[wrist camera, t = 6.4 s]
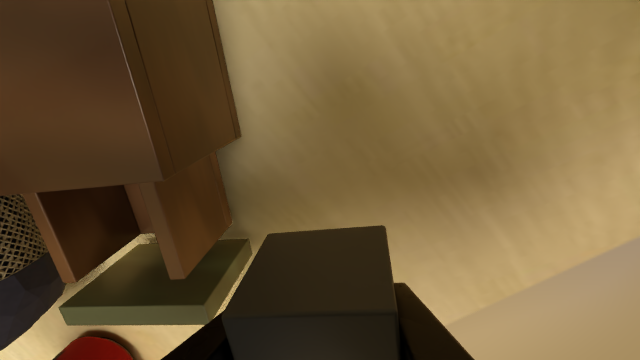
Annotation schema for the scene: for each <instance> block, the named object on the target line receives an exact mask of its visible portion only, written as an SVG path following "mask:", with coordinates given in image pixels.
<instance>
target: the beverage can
mask: <svg viewBox="0 0 640 360" xmlns="http://www.w3.org/2000/svg"><path fill="white" fill-rule="evenodd" d="M53 360H133V358H132V356H131V354H130V353H129V352H128V351H127V350H126V349H125V348H124V347H123V346H121V345H120V344H118V343H117V342H115V341H112V340H110V339H106V338H98V337H81V338H78V339H76V340H74V341H72V342H71V343H70V344H69V345H68V346H67V347H66V348H65V349H63V350H62V351H61V352H60V353H59V354H58V355H57V356H56V357H55V358H54V359H53Z"/></svg>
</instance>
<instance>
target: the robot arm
mask: <svg viewBox="0 0 640 360" xmlns="http://www.w3.org/2000/svg"><path fill="white" fill-rule="evenodd" d="M394 290H395V297H396V304H397V311H398V322H399V333H400V345H401V356H402V360H474V359H473V358H472V357H471V355H470V354H469V353H468V352H467V351H466V350H465V349H464V348H463V347H462V346H461V344H460V343H459V342H458V341H457V340H456V339H455V338H454V337H453V336H452V335H451V333H450V332H449V331H448V330H447V329H446V328H445V327H444V326H443V325H442V323H441V322H440V321H439V320H438V319H437V318H436V317H435V316H434V315H433V314H432V312H431V311H430V310H429V309H428V308H427V307H426V306H425V305H424V304H423V303H422V301H421V300H420V299H419V298H418V297H417V296H416V295H415V294H414V293H413V292H412V290H411V289H410V288H409V287H408V286H407V285H406V284H405V283H394ZM223 312H224V311H223ZM223 312H222V313H220V314H219V315H218V316H216V317H215V318H214V319H213V320H211V321H210V322H209V323H207V324H206V325H205V326H204V327H202V328H201V329H200V330H198V331H197V332H196V333H195V334H193V335H192V336H191V337H189V338H188V339H187V340H186V341H184V342H183V343H182V344H180V345H179V346H178V347H177V348H175V349H174V350H173V351H171V352H170V353H169V354H168V355H166V356H165V357H164V358H162V359H161V360H234V359H233V356H232V352H231V349H230V346H229V342H228V339H227V335H226V332H225V329H224V325H223V322H222V314H223Z"/></svg>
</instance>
